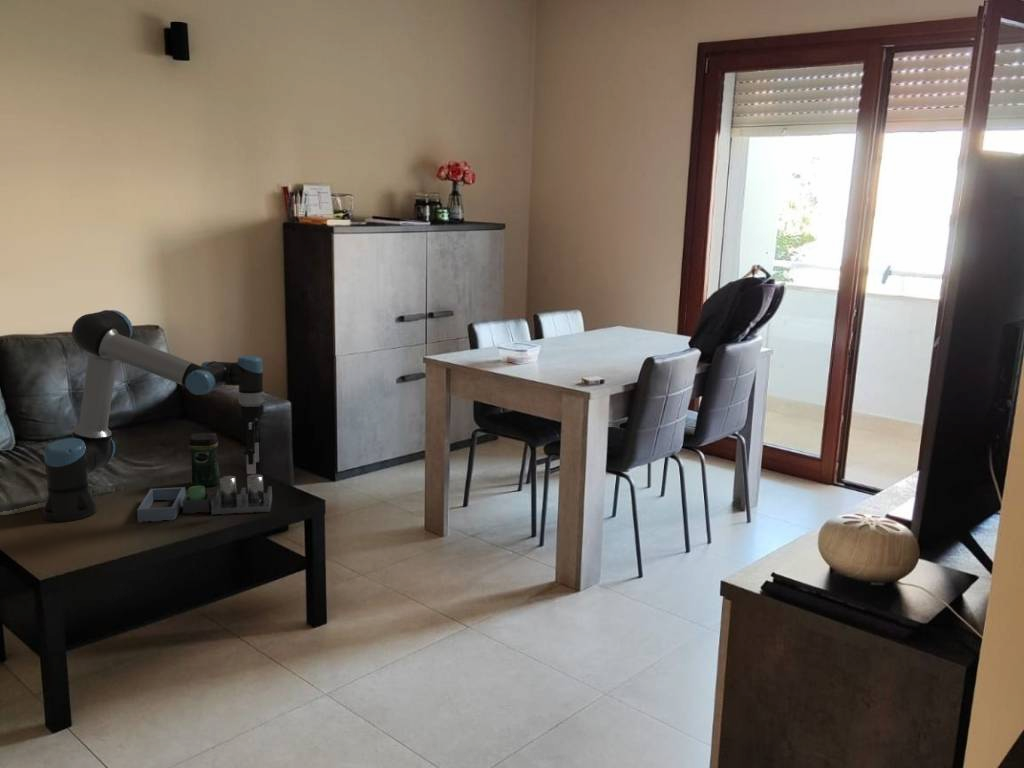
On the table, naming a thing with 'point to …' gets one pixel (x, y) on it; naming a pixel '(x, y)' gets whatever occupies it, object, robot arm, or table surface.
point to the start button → (197, 493)
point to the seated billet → (228, 489)
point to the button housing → (197, 504)
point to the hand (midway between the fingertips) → (253, 467)
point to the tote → (161, 513)
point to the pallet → (241, 503)
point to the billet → (255, 488)
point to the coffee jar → (204, 459)
